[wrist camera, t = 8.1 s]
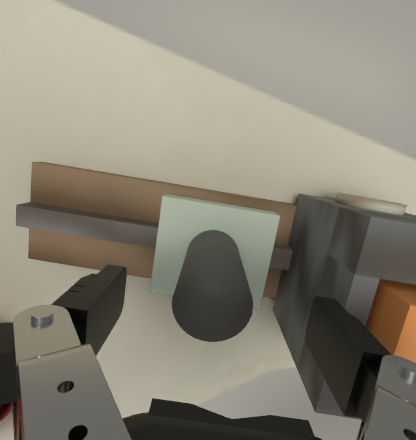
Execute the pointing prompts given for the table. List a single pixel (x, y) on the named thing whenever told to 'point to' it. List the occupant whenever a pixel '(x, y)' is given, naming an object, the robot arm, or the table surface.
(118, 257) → the rail
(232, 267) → the mint plate with knob
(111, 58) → the table surface
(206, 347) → the table surface
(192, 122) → the table surface
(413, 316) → the button
